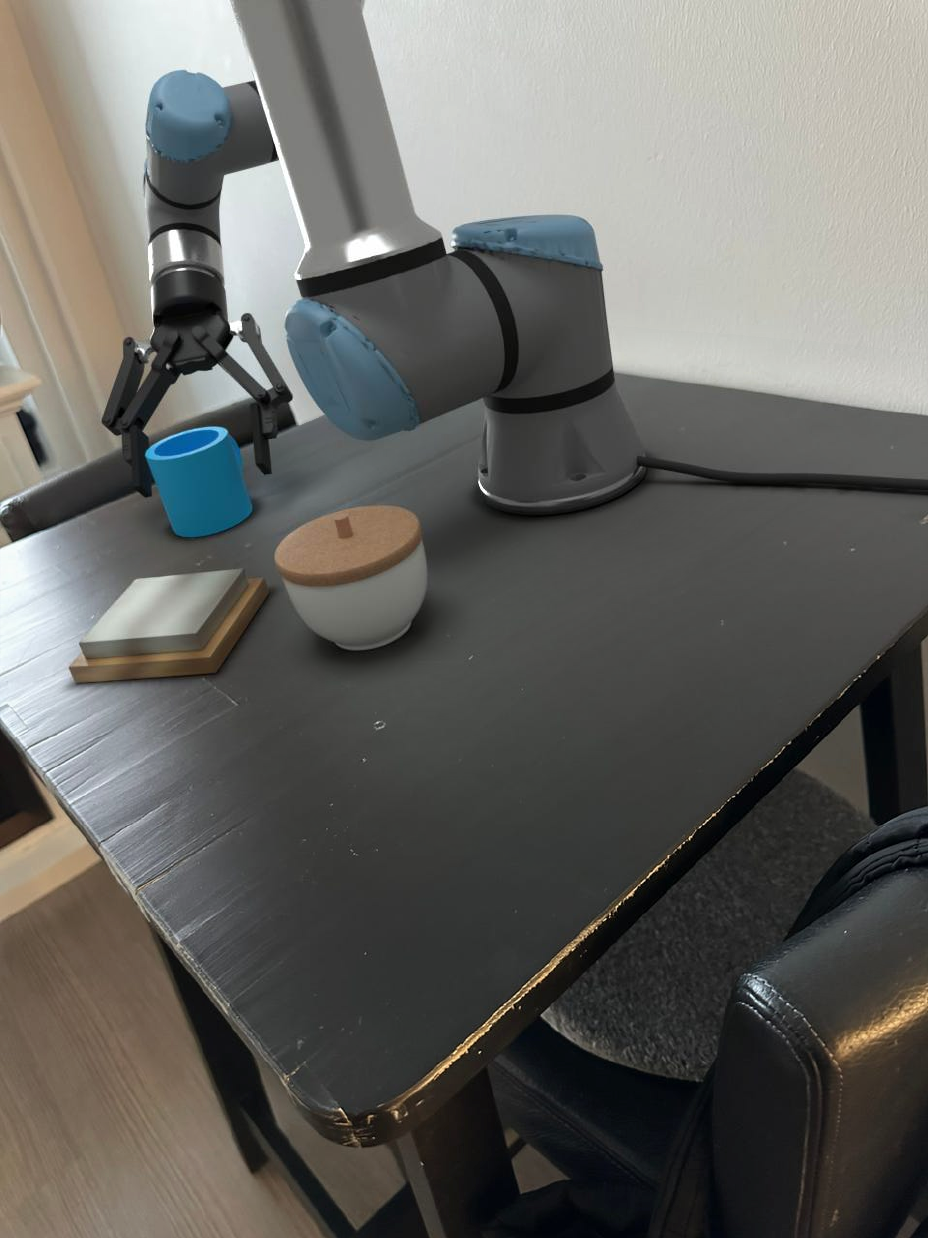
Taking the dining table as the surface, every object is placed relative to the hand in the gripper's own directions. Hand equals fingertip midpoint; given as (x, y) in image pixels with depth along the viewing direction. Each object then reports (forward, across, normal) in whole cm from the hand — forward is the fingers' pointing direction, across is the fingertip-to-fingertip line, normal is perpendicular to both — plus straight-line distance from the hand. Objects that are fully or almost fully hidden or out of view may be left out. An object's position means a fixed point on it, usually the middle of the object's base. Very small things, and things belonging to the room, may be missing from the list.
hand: (202, 480), depth 100 cm
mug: (+1, 0, -5) cm, 5 cm away
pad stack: (+19, -2, +13) cm, 23 cm away
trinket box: (+22, -18, +16) cm, 33 cm away
